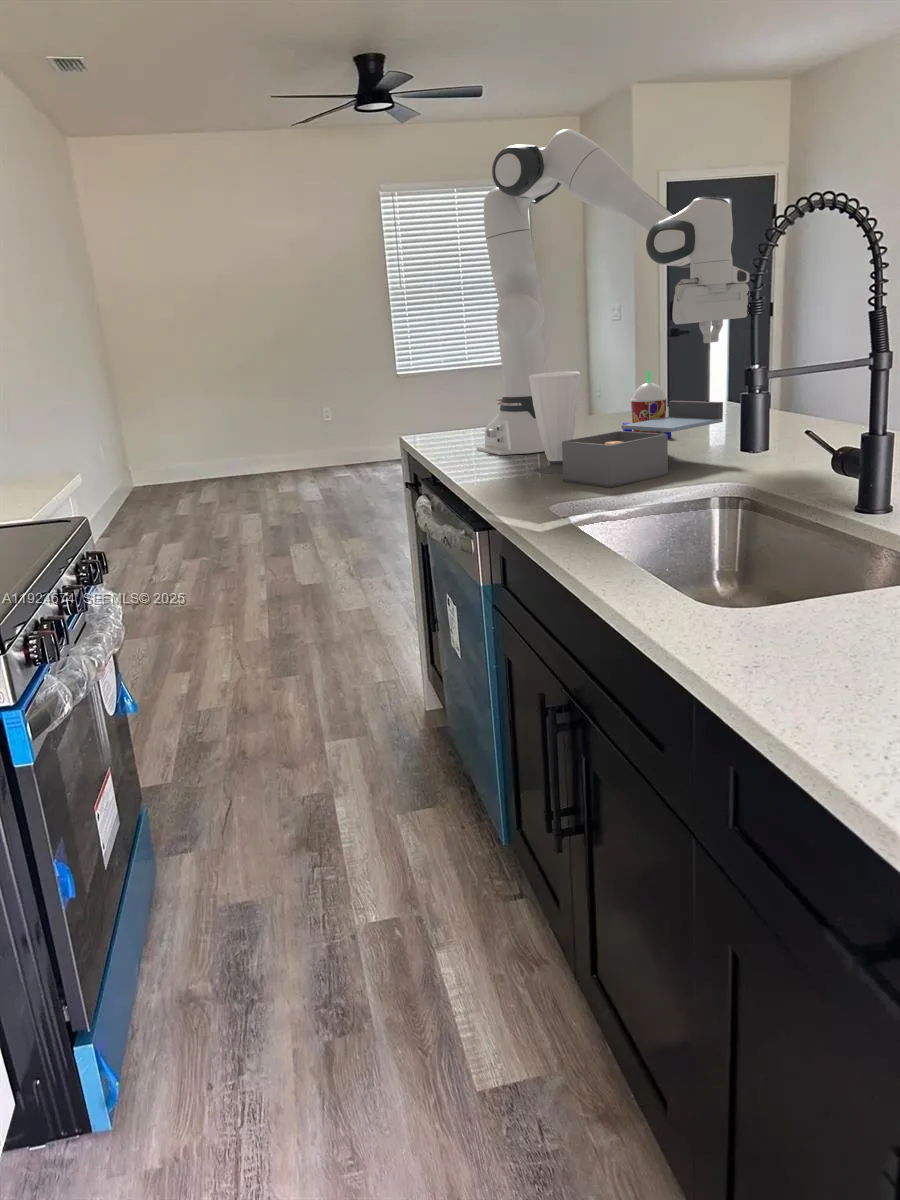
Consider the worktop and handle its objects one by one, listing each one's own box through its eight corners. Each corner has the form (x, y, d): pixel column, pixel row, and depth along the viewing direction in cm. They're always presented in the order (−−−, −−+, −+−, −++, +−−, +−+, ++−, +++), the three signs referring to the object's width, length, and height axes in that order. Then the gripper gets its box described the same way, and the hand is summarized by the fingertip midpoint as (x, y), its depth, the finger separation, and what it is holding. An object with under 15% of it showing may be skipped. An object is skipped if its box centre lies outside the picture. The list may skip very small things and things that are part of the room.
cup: (533, 467, 206) (528, 374, 200) (581, 464, 205) (578, 370, 199) (533, 475, 196) (528, 377, 189) (585, 472, 194) (581, 373, 188)
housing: (563, 481, 186) (561, 441, 183) (619, 468, 195) (618, 430, 192) (610, 487, 175) (609, 445, 172) (667, 474, 184) (667, 434, 181)
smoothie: (670, 457, 205) (670, 370, 198) (635, 460, 205) (634, 373, 199) (662, 452, 212) (662, 368, 206) (628, 455, 213) (627, 371, 207)
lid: (621, 428, 193) (621, 409, 192) (672, 419, 202) (672, 400, 201) (670, 432, 182) (670, 411, 181) (722, 422, 191) (722, 402, 190)
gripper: (686, 278, 182) (686, 346, 186) (755, 273, 191) (753, 338, 195) (665, 280, 187) (666, 347, 191) (733, 275, 197) (732, 339, 201)
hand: (711, 342), depth 193 cm, fingers closed
